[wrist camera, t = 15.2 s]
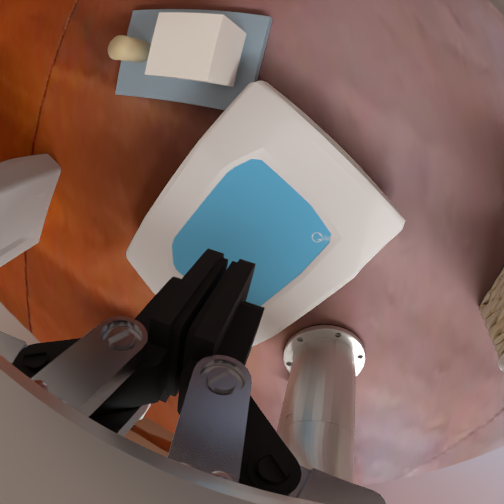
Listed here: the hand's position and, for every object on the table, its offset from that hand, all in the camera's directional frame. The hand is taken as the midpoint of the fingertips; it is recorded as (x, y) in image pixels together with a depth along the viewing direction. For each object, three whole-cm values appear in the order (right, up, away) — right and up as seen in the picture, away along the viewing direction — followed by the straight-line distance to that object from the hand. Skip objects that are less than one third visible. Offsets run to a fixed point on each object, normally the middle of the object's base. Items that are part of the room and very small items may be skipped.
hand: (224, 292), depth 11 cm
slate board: (-7, +25, +21) cm, 33 cm away
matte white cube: (-3, +23, +18) cm, 29 cm away
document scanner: (+1, +5, +28) cm, 28 cm away
